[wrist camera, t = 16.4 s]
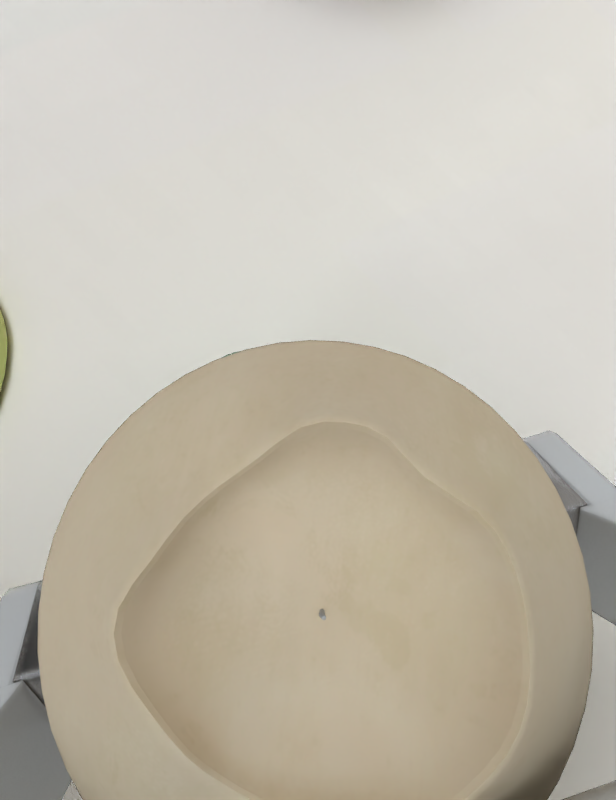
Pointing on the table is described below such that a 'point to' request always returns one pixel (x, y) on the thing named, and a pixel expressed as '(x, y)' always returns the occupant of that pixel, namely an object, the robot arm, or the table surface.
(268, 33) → the table surface
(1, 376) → the key
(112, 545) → the candle
